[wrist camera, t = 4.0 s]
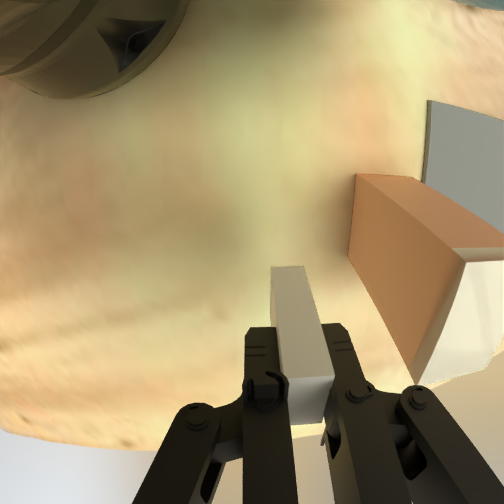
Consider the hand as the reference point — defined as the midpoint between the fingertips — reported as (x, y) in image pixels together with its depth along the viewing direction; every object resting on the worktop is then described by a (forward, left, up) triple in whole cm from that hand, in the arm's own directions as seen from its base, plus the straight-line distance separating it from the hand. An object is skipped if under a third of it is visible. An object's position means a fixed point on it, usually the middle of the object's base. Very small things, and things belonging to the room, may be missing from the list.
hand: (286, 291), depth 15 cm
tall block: (0, +9, -10) cm, 13 cm away
